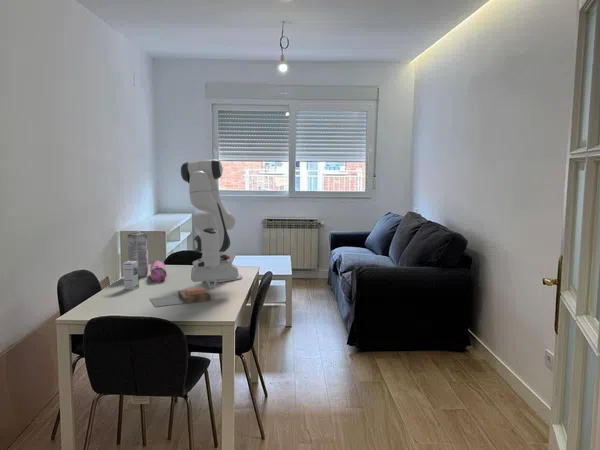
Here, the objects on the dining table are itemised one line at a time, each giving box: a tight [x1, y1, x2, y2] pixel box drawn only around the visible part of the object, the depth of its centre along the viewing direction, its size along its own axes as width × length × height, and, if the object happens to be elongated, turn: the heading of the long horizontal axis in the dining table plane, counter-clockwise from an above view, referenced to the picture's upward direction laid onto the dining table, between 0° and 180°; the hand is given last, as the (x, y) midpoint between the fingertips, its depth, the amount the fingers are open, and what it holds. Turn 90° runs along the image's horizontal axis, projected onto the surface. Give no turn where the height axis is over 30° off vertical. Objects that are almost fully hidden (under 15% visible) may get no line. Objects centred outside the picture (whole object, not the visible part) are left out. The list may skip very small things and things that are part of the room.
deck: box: [177, 289, 211, 304], centre depth 255 cm, size 12×16×2 cm
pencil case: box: [149, 260, 168, 283], centre depth 301 cm, size 21×9×9 cm, turn 15°
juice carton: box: [127, 230, 149, 278], centre depth 306 cm, size 9×10×27 cm
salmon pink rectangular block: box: [184, 286, 207, 295], centre depth 255 cm, size 9×6×2 cm, turn 115°
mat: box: [149, 294, 186, 308], centre depth 250 cm, size 14×16×1 cm
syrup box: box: [122, 260, 140, 291], centre depth 276 cm, size 6×6×14 cm
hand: (212, 288), depth 258 cm, fingers closed
